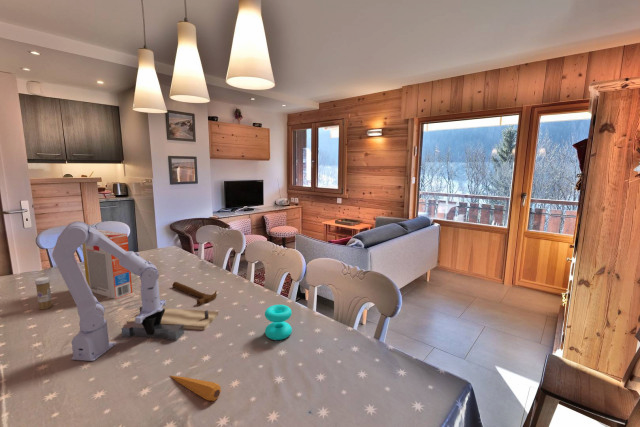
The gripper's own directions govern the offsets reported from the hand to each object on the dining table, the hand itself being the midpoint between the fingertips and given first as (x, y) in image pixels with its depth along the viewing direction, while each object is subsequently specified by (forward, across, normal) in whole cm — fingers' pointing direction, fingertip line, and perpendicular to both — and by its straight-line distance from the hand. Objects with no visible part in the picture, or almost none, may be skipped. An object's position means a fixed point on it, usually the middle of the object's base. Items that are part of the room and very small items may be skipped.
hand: (153, 331), depth 109 cm
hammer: (+2, +37, +4) cm, 37 cm away
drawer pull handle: (+1, 0, 0) cm, 1 cm away
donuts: (+2, +6, -46) cm, 46 cm away
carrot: (+2, -23, -28) cm, 37 cm away
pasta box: (+2, +34, +47) cm, 58 cm away
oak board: (+1, +12, -1) cm, 12 cm away
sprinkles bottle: (+2, +15, +61) cm, 63 cm away
